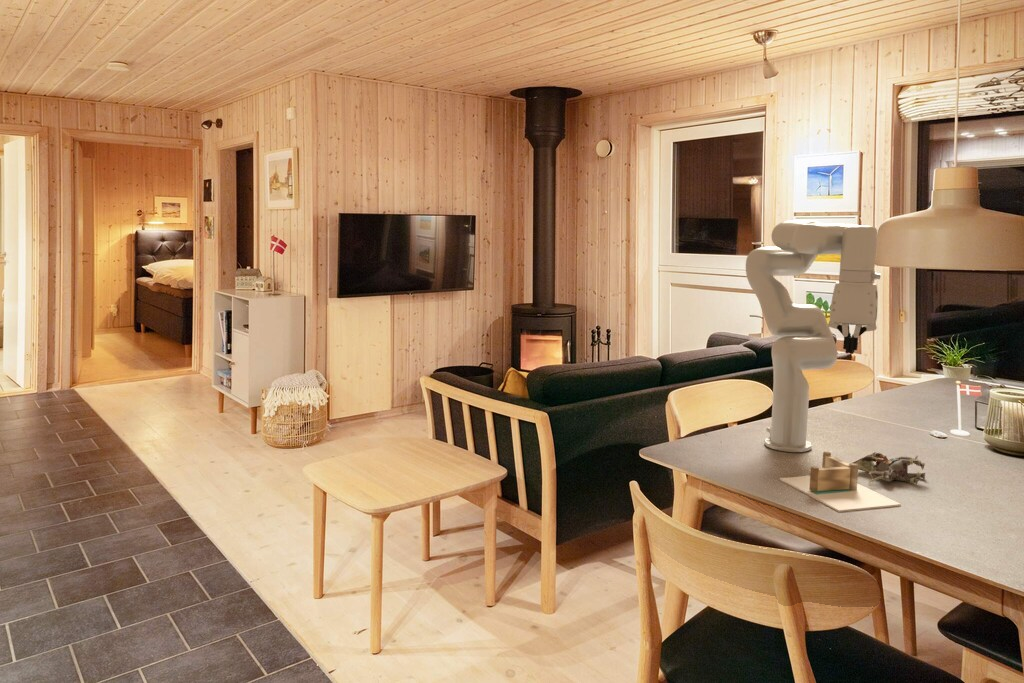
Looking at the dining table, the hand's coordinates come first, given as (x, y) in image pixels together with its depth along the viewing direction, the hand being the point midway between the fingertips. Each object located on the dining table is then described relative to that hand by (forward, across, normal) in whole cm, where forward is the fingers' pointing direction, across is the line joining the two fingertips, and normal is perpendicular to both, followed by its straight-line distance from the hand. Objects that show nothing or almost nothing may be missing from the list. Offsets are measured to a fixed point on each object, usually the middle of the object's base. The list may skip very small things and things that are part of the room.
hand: (849, 352), depth 184 cm
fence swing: (+30, 0, +14) cm, 34 cm away
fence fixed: (+31, -1, +7) cm, 32 cm away
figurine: (+32, -9, -6) cm, 34 cm away
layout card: (+31, -2, +13) cm, 34 cm away
